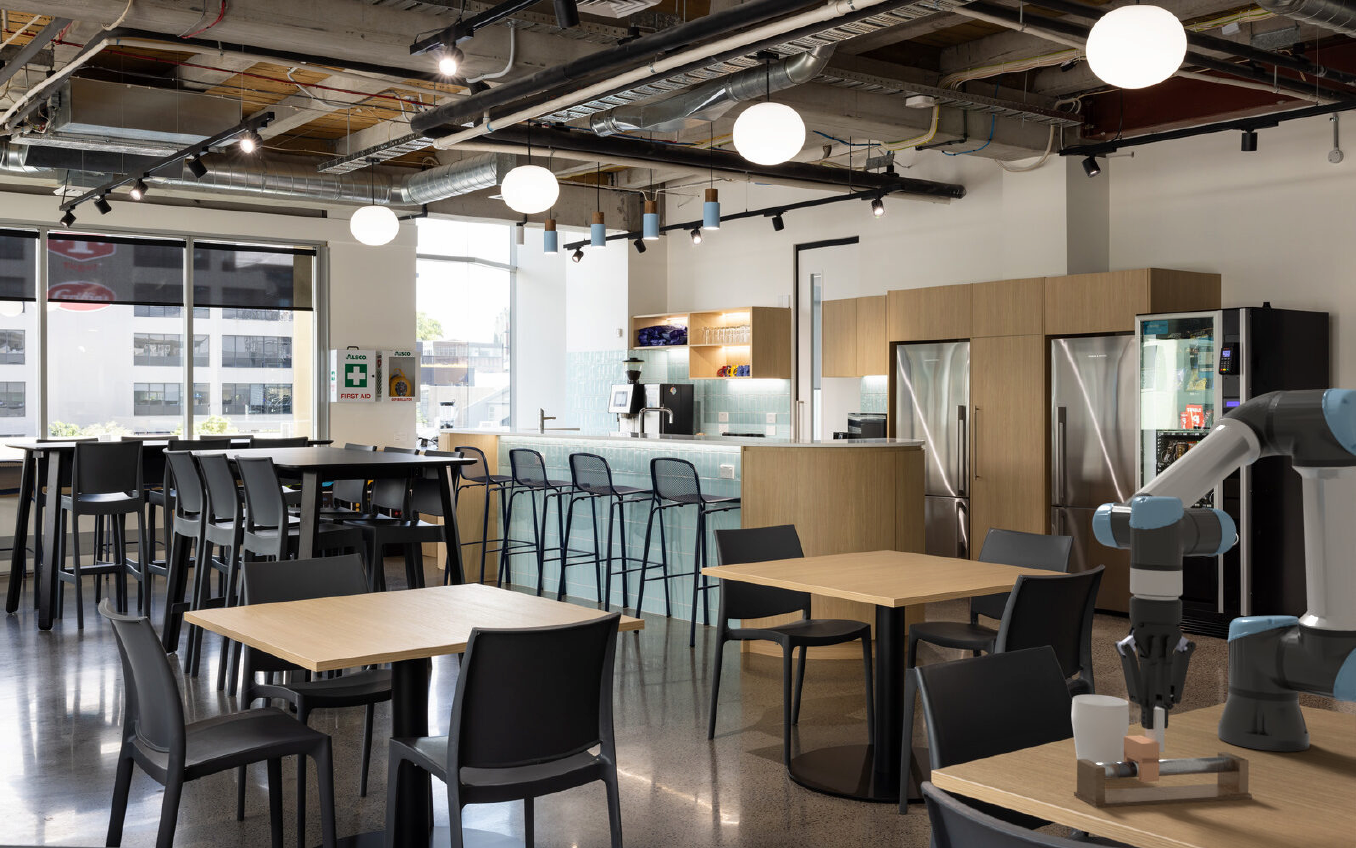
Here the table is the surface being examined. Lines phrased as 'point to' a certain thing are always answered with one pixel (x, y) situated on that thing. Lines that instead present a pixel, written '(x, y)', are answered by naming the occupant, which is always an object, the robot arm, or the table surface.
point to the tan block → (1143, 756)
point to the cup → (1100, 727)
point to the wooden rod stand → (1228, 788)
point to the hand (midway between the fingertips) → (1154, 749)
